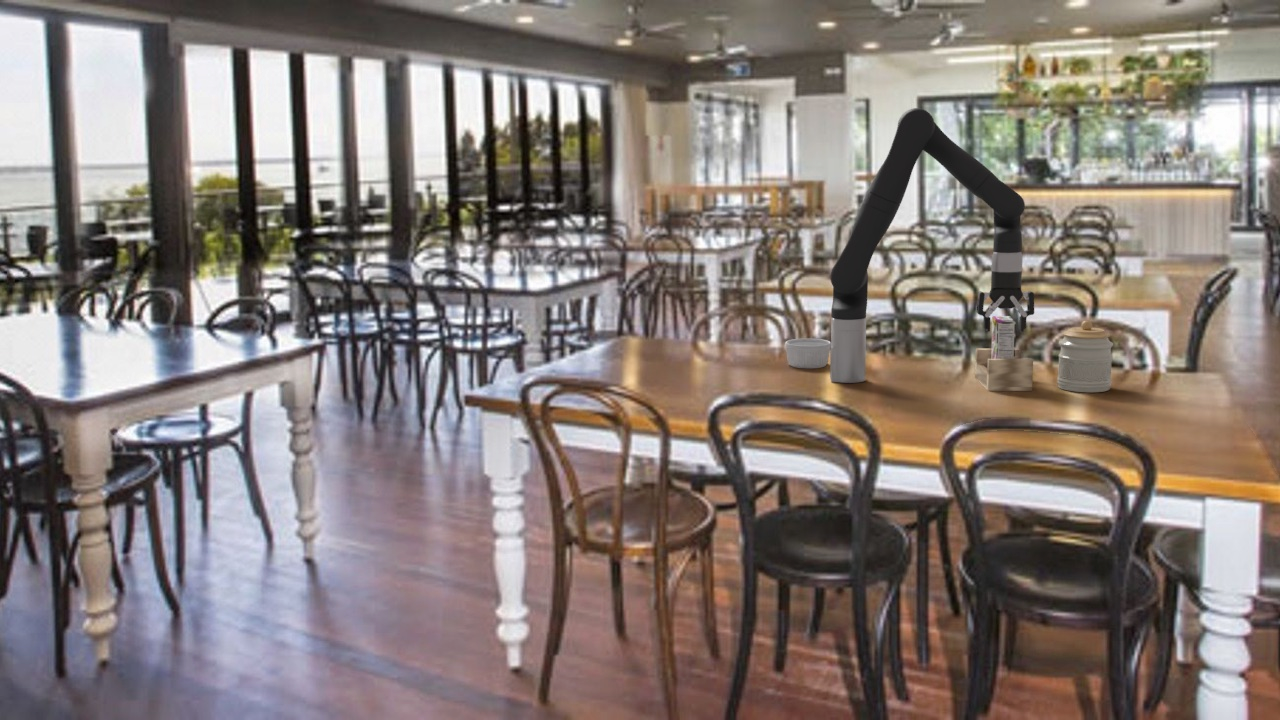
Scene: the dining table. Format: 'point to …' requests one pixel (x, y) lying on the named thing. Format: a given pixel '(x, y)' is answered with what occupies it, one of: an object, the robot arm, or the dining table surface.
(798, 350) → the ramekin
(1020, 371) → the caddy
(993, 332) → the candy bar box
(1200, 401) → the dining table surface
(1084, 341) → the jar
